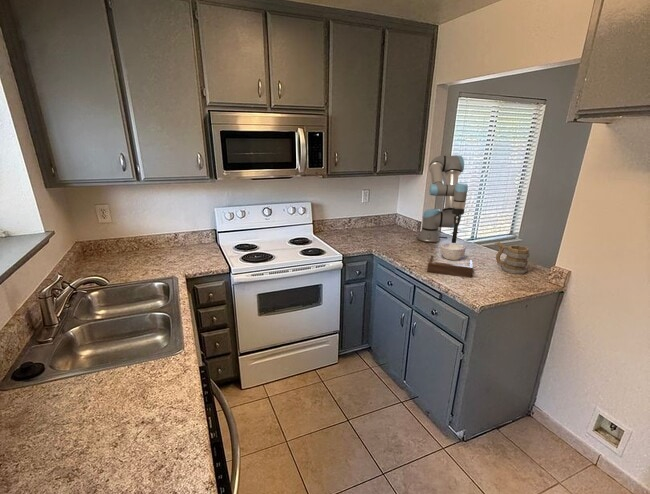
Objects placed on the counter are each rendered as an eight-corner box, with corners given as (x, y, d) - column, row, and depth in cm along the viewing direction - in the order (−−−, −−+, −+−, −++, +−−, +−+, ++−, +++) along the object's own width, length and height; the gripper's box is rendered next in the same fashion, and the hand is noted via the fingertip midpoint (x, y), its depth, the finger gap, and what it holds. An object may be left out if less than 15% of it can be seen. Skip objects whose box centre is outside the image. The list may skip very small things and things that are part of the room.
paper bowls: (442, 252, 243) (443, 241, 240) (465, 256, 236) (467, 245, 233) (436, 259, 230) (438, 247, 227) (461, 263, 223) (463, 251, 220)
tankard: (529, 270, 212) (535, 246, 206) (520, 275, 204) (526, 250, 199) (496, 261, 226) (500, 239, 220) (486, 266, 218) (491, 243, 212)
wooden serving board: (430, 262, 223) (431, 253, 221) (471, 267, 216) (472, 258, 213) (427, 272, 209) (428, 262, 206) (471, 277, 201) (472, 267, 199)
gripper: (453, 205, 239) (448, 239, 248) (452, 209, 228) (447, 244, 237) (464, 206, 237) (459, 240, 245) (464, 210, 226) (459, 245, 234)
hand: (453, 242), depth 241 cm, fingers closed
